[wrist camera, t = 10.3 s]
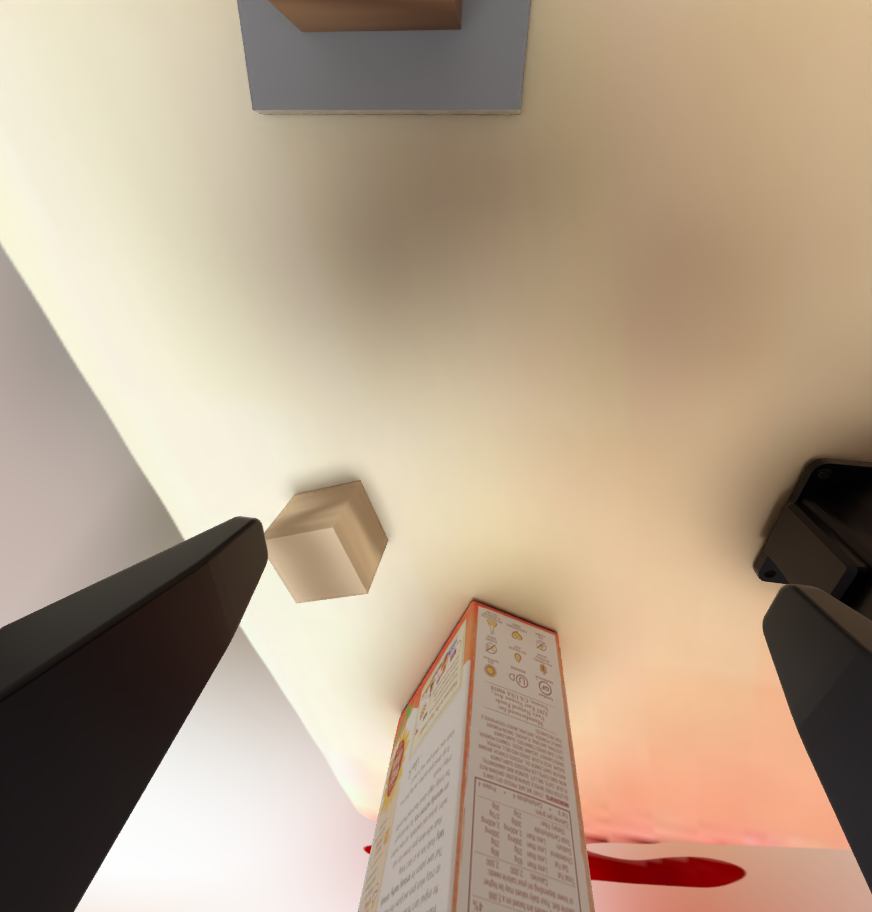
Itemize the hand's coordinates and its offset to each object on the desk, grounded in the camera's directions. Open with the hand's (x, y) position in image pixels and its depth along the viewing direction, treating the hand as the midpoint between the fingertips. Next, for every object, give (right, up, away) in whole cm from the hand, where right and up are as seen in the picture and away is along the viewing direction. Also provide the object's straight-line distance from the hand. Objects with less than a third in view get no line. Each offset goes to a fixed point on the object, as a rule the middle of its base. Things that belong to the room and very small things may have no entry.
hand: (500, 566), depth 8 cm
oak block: (-6, -1, +16) cm, 17 cm away
